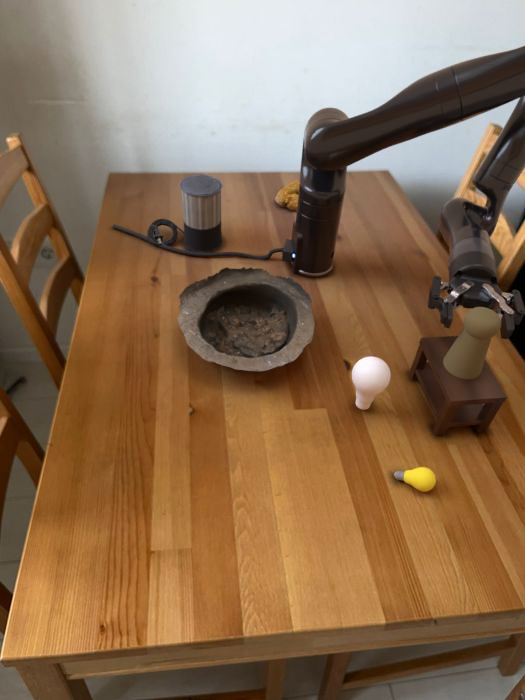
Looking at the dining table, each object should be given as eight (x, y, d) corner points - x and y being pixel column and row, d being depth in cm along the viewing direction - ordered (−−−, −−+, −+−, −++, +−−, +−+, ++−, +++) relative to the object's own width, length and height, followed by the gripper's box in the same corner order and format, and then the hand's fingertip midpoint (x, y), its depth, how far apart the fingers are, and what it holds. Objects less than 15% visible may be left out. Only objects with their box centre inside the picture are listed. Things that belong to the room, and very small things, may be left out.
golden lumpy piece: (272, 194, 139) (273, 177, 135) (312, 194, 140) (314, 177, 136) (277, 213, 132) (278, 196, 128) (319, 212, 133) (321, 195, 130)
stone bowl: (247, 283, 110) (251, 248, 103) (335, 351, 99) (346, 316, 92) (151, 335, 97) (149, 298, 90) (241, 419, 86) (246, 385, 79)
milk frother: (230, 247, 120) (230, 188, 109) (169, 267, 113) (163, 206, 103) (200, 219, 128) (198, 162, 117) (142, 236, 121) (133, 177, 111)
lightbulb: (371, 427, 85) (385, 382, 77) (338, 410, 87) (348, 366, 79) (385, 403, 88) (400, 358, 81) (353, 388, 90) (364, 343, 83)
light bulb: (435, 496, 76) (433, 488, 73) (394, 488, 78) (391, 481, 76) (437, 474, 77) (436, 466, 75) (397, 467, 80) (394, 459, 77)
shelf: (435, 436, 84) (451, 401, 77) (407, 373, 94) (420, 337, 87) (486, 432, 85) (507, 397, 79) (454, 370, 95) (470, 334, 88)
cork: (483, 382, 80) (510, 330, 73) (444, 375, 81) (466, 323, 73) (479, 355, 85) (504, 304, 77) (442, 349, 85) (463, 298, 78)
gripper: (436, 243, 87) (436, 301, 76) (523, 257, 85) (537, 320, 74) (424, 278, 92) (422, 338, 81) (506, 293, 90) (516, 356, 79)
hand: (477, 329), depth 77 cm, fingers open, 8 cm apart
